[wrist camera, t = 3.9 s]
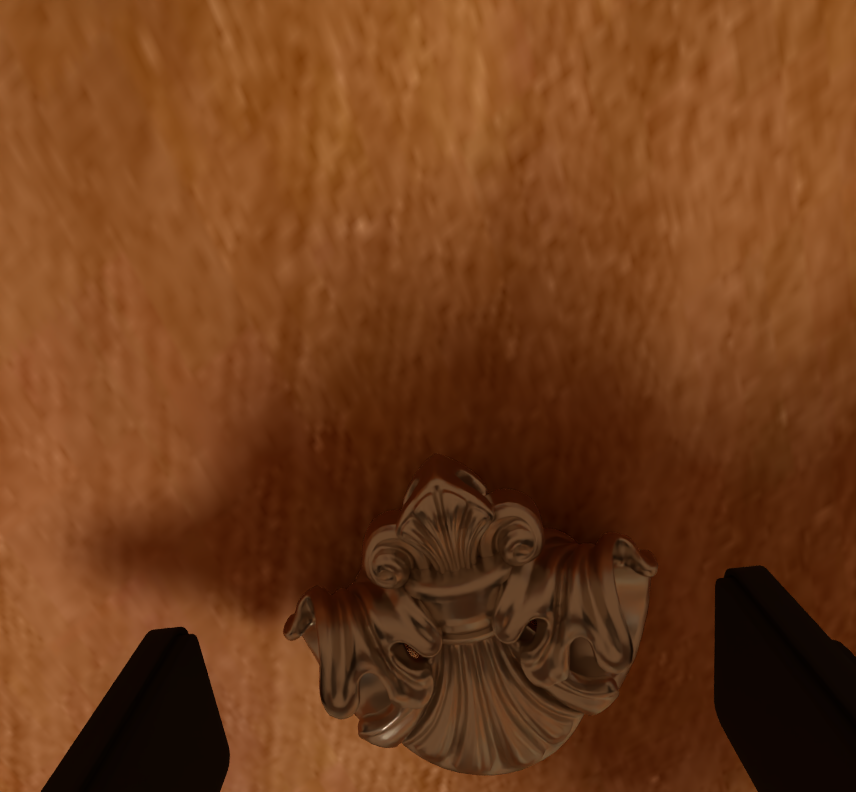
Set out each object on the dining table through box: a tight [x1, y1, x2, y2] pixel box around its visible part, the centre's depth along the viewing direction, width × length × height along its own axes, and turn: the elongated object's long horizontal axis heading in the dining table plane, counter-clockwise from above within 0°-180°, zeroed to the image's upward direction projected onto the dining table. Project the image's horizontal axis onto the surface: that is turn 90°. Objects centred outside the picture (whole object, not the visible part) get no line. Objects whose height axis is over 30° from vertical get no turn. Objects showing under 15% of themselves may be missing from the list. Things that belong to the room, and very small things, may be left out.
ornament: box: [283, 453, 658, 776], centre depth 13 cm, size 8×7×4 cm
